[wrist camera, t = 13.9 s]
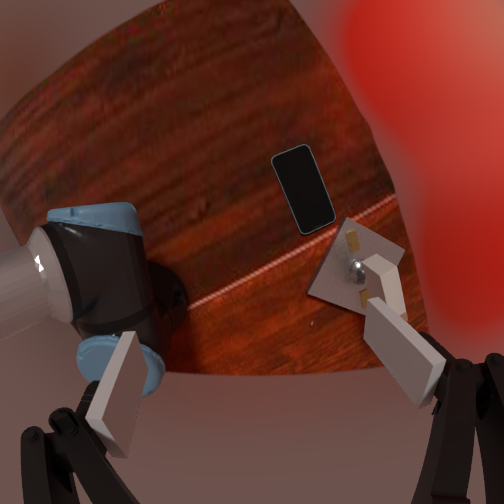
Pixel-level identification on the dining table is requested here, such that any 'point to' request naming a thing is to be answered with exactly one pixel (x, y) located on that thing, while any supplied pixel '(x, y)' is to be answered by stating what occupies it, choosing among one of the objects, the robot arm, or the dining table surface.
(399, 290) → the grey rectangular block
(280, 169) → the smartphone
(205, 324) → the dining table surface
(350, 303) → the socket
